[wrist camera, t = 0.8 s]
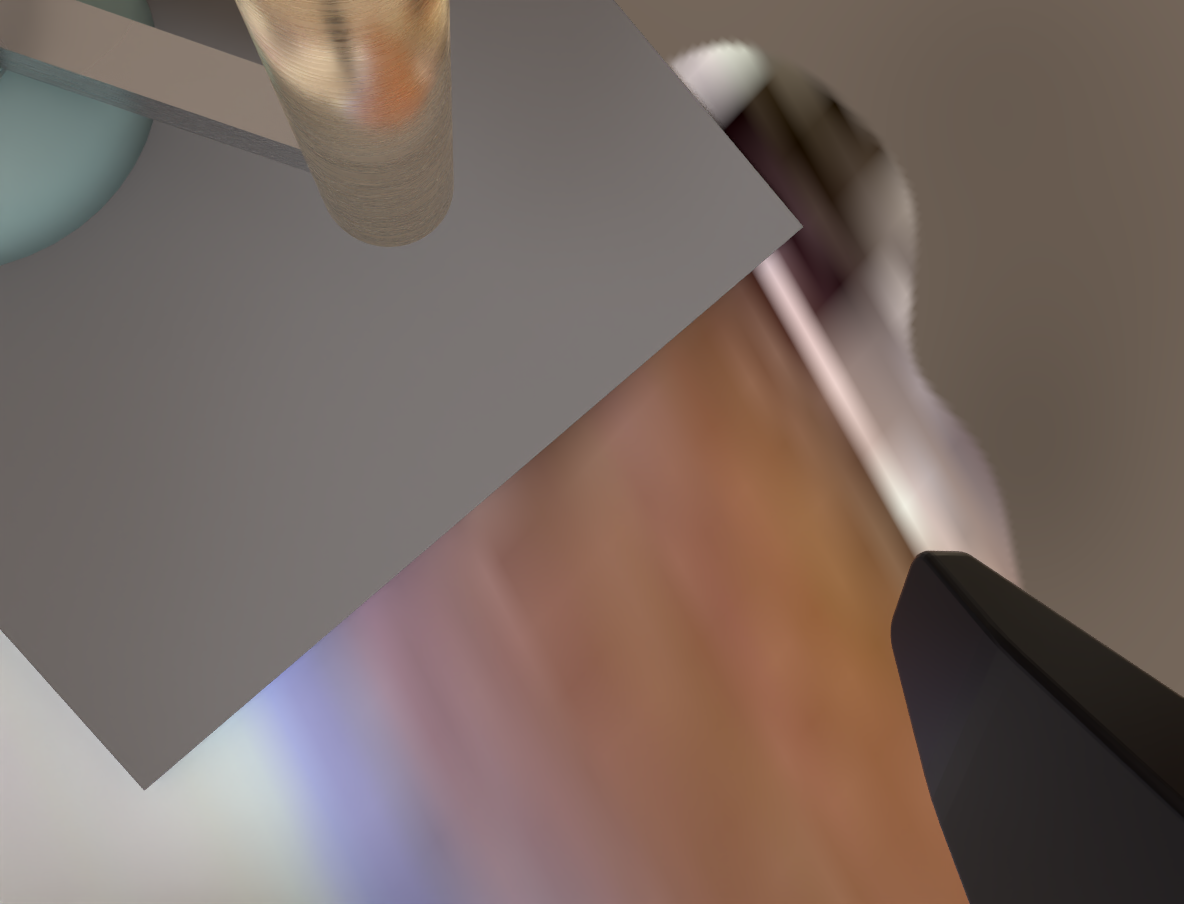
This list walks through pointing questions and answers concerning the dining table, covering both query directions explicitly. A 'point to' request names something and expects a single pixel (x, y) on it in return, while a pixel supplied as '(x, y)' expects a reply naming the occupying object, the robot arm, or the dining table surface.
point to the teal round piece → (61, 153)
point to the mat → (334, 361)
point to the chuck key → (279, 93)
